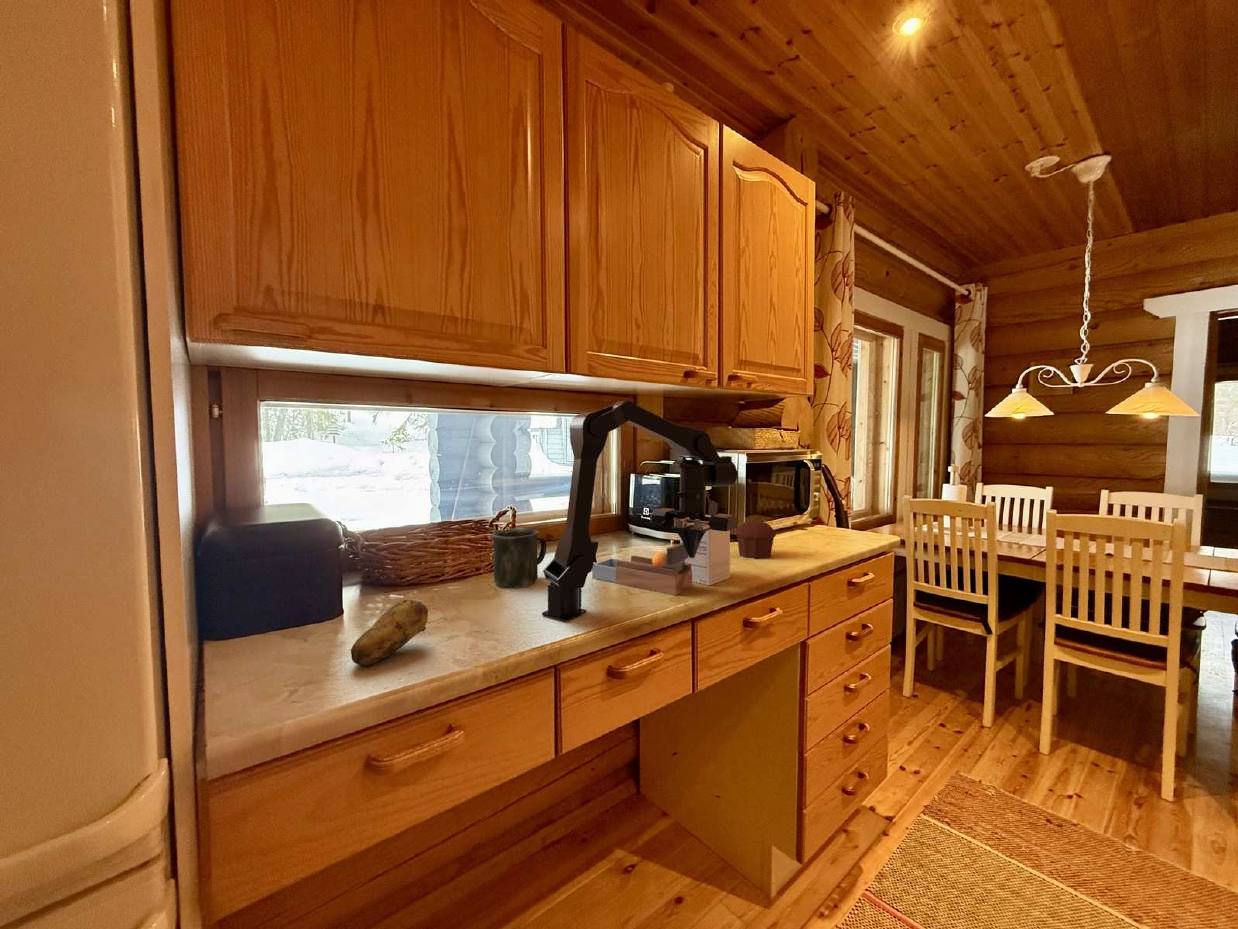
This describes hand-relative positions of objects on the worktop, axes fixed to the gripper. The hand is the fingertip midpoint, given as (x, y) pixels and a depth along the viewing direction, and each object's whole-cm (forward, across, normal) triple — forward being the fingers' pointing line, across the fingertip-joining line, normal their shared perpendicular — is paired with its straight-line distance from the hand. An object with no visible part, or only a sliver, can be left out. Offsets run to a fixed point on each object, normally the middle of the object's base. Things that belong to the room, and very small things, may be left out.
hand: (692, 557), depth 116 cm
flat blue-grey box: (+8, +21, 0) cm, 23 cm away
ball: (+2, +8, 0) cm, 8 cm away
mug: (+8, +38, +15) cm, 42 cm away
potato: (+8, +25, +57) cm, 63 cm away
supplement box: (+8, +3, -12) cm, 15 cm away
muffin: (+8, +1, -42) cm, 43 cm away
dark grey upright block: (+4, +4, 0) cm, 6 cm away
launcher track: (+8, +10, 0) cm, 13 cm away
